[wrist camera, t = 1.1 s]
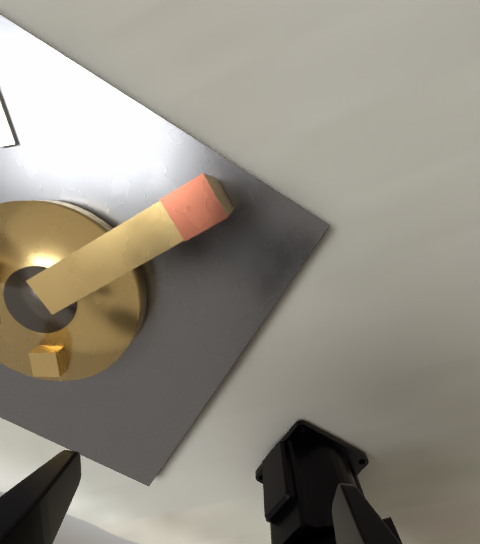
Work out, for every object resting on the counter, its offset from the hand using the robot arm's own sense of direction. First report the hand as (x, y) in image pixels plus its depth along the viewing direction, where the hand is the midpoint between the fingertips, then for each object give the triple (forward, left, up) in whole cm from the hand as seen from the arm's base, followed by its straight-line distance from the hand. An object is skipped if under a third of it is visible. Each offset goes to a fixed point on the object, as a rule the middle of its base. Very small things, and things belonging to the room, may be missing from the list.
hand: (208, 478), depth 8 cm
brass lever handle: (+9, +2, -11) cm, 14 cm away
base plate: (+10, +4, -12) cm, 16 cm away
